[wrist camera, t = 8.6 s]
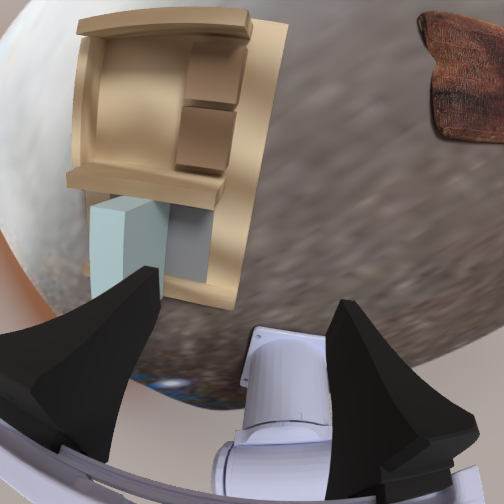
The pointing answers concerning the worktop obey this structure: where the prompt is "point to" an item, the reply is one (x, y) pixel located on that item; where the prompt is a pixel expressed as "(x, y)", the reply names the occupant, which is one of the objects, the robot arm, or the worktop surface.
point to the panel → (126, 240)
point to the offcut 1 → (216, 72)
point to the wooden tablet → (466, 75)
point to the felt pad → (187, 241)
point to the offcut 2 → (205, 137)
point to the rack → (172, 125)
